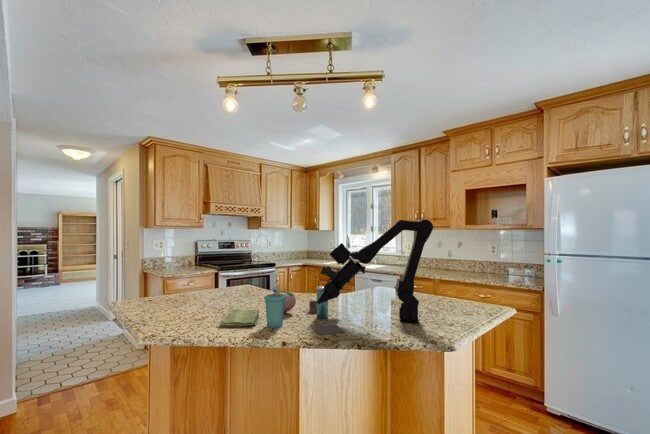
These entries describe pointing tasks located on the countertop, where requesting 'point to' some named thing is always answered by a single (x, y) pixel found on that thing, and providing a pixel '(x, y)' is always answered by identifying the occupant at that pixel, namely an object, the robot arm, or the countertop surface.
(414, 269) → the robot arm
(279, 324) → the cup
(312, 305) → the letter block
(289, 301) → the decorative fruit
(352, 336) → the countertop surface
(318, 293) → the tin
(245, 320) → the washcloth
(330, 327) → the mat
